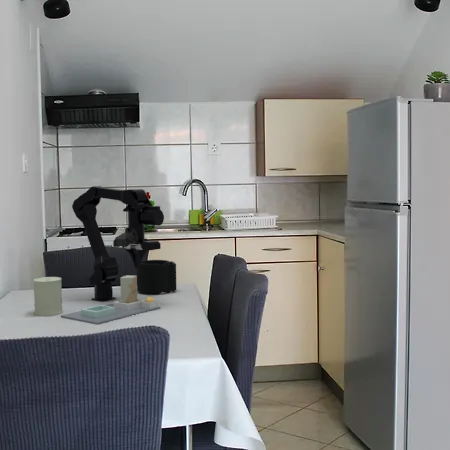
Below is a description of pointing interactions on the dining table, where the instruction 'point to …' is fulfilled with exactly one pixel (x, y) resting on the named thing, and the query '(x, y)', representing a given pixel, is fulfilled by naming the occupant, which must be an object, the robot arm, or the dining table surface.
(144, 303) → the frame
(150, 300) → the button
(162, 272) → the black basket
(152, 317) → the dining table surface
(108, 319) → the grey board
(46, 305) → the can
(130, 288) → the box
